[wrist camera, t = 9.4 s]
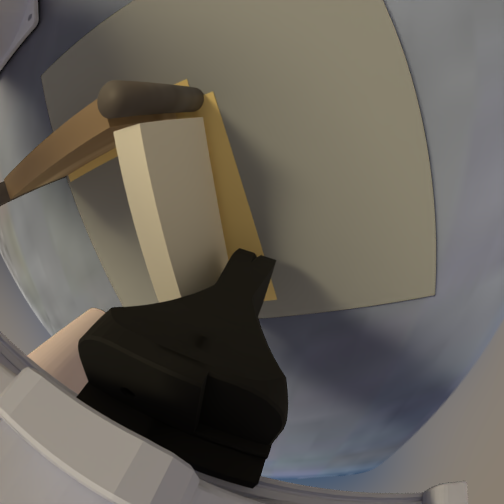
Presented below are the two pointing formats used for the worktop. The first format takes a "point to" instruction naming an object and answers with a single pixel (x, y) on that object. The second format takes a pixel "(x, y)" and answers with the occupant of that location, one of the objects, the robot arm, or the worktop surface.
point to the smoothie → (66, 352)
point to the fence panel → (173, 204)
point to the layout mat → (273, 144)
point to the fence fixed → (97, 131)
